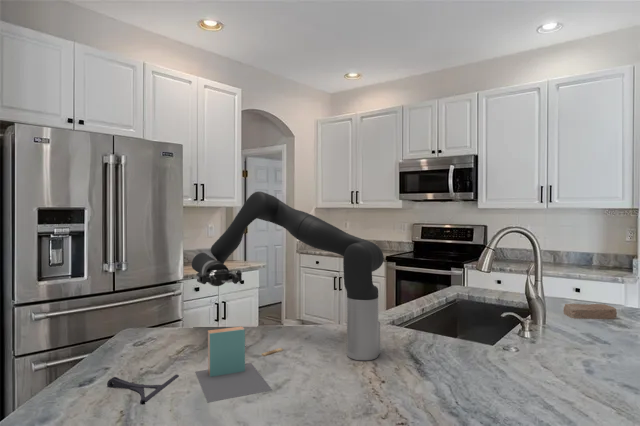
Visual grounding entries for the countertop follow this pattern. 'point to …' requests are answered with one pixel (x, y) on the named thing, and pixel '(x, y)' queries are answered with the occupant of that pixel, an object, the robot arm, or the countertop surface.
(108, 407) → the countertop surface
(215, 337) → the tile
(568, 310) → the brick
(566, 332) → the countertop surface
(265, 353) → the turner
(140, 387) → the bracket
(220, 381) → the mat
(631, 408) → the countertop surface
